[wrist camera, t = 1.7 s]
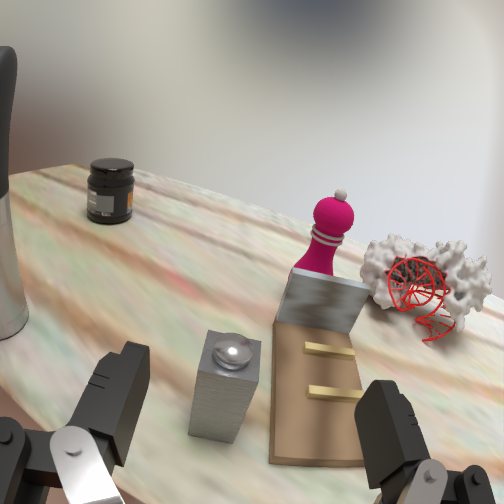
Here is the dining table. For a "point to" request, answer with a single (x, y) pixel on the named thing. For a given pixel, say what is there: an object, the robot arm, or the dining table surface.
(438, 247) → the lumpy white molecule
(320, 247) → the pepper mill
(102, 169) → the supplement container
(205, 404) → the metal square bar
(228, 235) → the dining table surface
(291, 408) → the wooden base metal fixture
